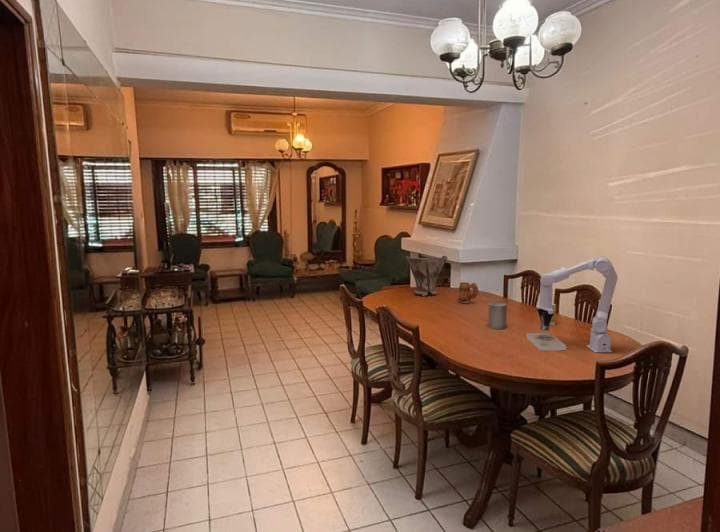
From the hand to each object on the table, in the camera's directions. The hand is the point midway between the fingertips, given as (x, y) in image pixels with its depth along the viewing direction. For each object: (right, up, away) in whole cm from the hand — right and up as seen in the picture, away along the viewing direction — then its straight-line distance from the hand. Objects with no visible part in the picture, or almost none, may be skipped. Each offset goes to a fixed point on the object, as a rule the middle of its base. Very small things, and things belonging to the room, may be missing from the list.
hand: (544, 324), depth 227 cm
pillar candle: (-15, -6, +30) cm, 34 cm away
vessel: (-42, +7, +117) cm, 124 cm away
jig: (0, -10, -1) cm, 10 cm away
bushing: (0, -2, 0) cm, 3 cm away
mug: (-18, +3, +86) cm, 88 cm away
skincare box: (+15, -5, +33) cm, 36 cm away
